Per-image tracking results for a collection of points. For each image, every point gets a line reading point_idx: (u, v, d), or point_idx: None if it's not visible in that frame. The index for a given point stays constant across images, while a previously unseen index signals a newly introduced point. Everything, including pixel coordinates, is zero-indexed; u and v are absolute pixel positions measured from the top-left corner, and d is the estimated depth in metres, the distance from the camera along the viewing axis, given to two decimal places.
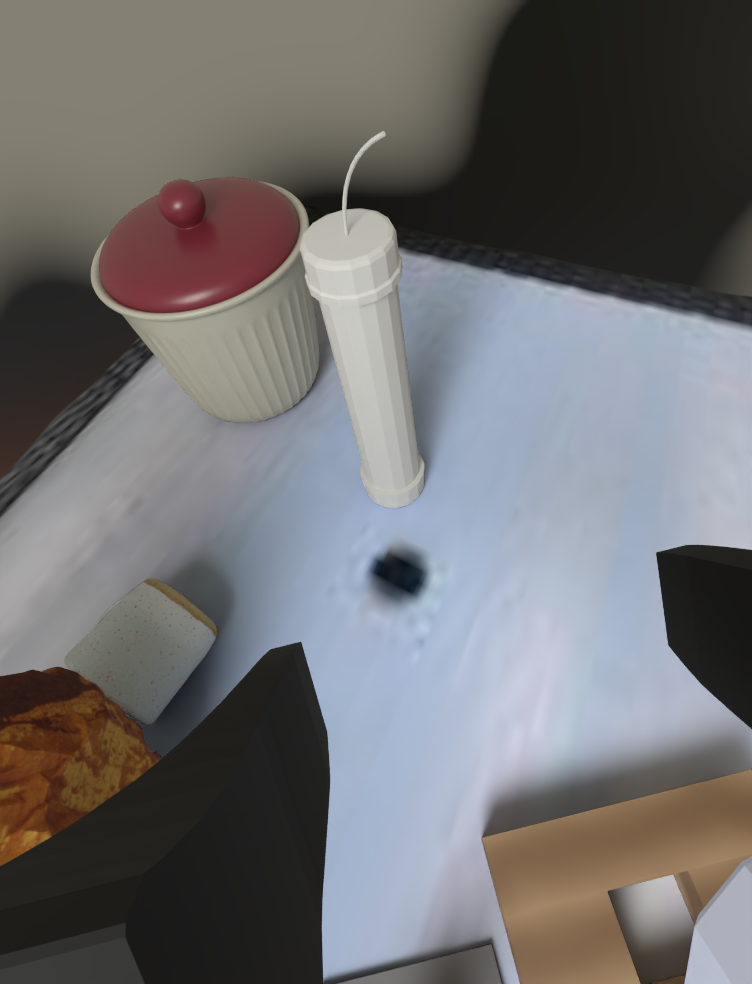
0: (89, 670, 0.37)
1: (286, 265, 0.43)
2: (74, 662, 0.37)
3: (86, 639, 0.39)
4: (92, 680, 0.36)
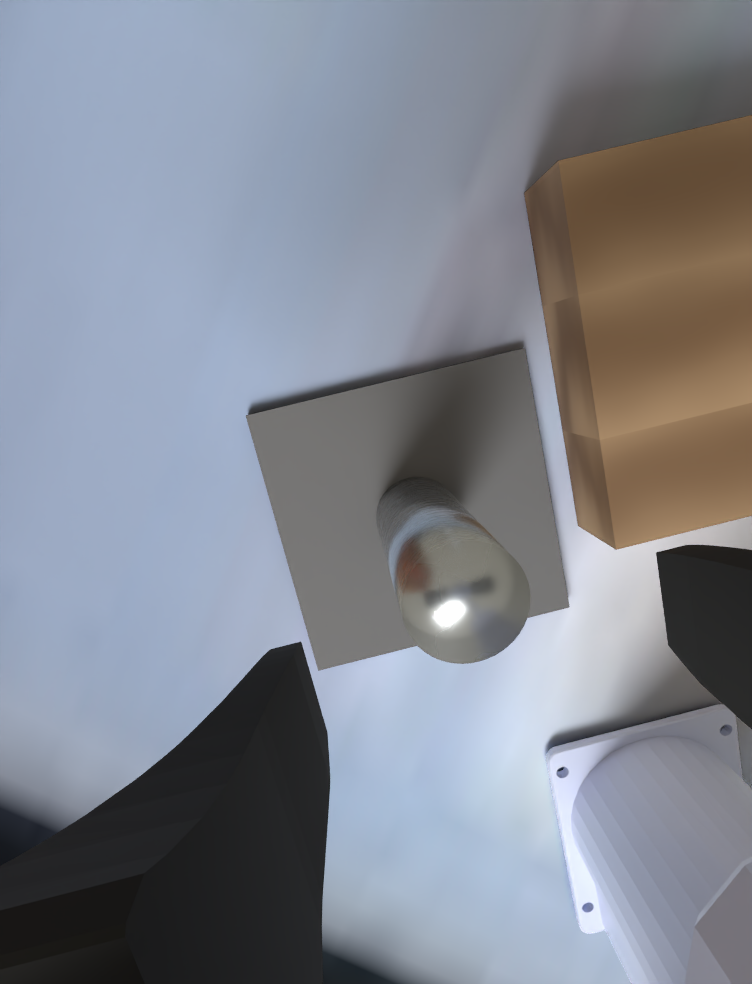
0: None
1: None
2: None
3: None
4: None
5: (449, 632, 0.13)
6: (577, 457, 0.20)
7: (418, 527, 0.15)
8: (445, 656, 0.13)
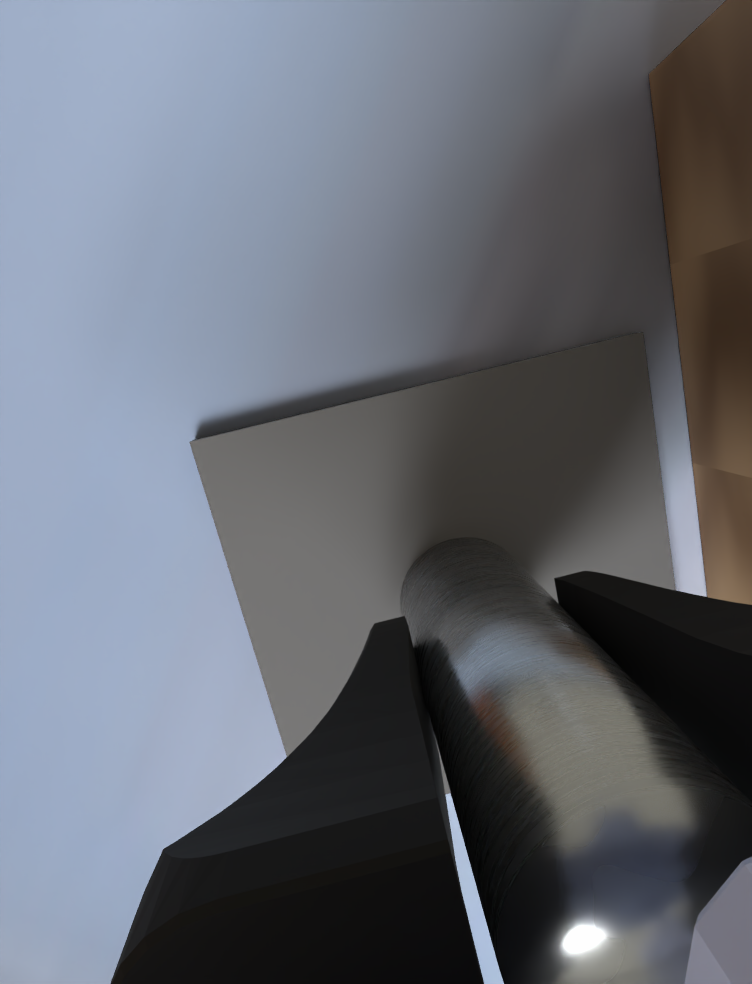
0: None
1: None
2: None
3: None
4: None
5: None
6: (724, 507, 0.13)
7: (508, 692, 0.07)
8: None
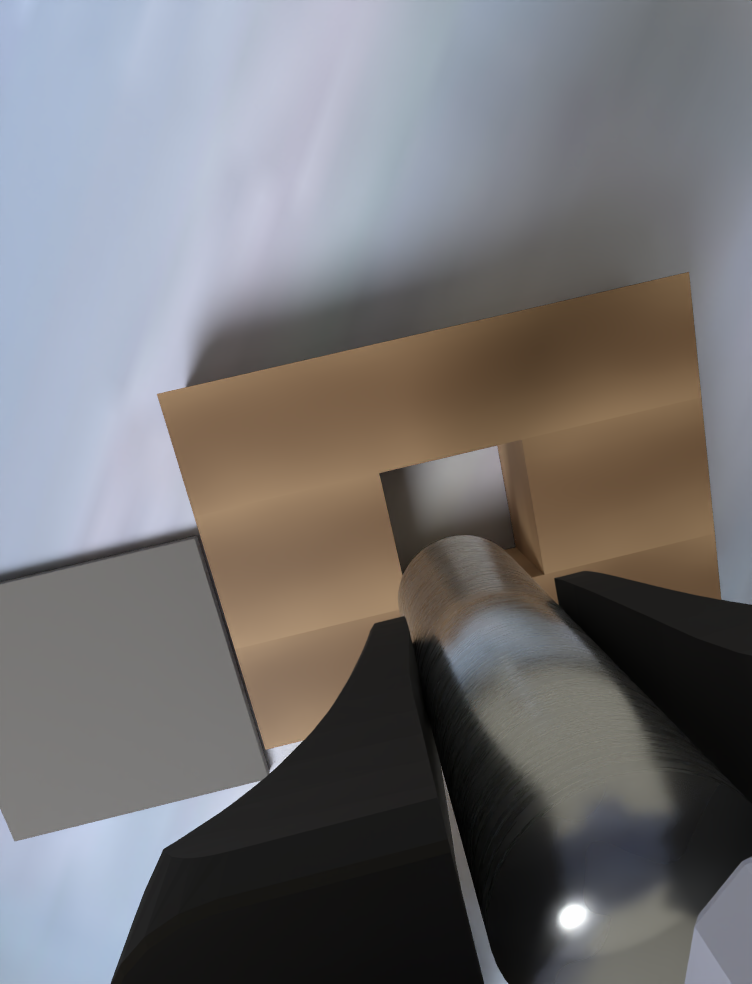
0: None
1: None
2: None
3: None
4: None
5: (589, 965, 0.06)
6: None
7: (510, 676, 0.07)
8: None
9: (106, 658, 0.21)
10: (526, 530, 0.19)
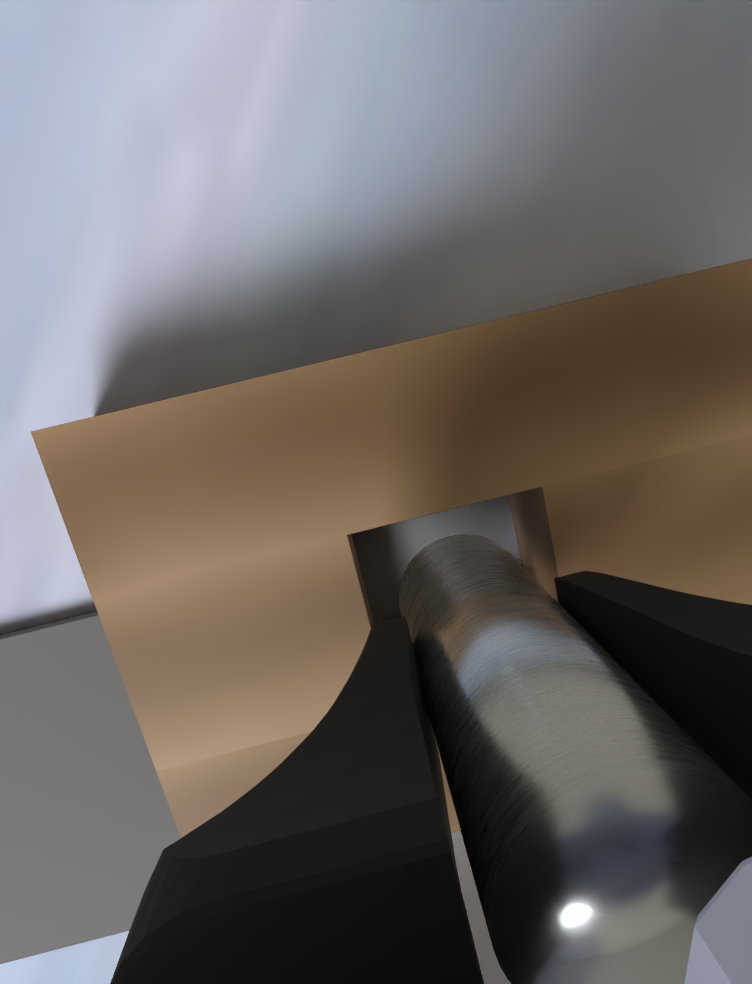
0: None
1: None
2: None
3: None
4: None
5: (592, 964, 0.06)
6: None
7: (512, 676, 0.07)
8: None
9: (2, 765, 0.16)
10: None
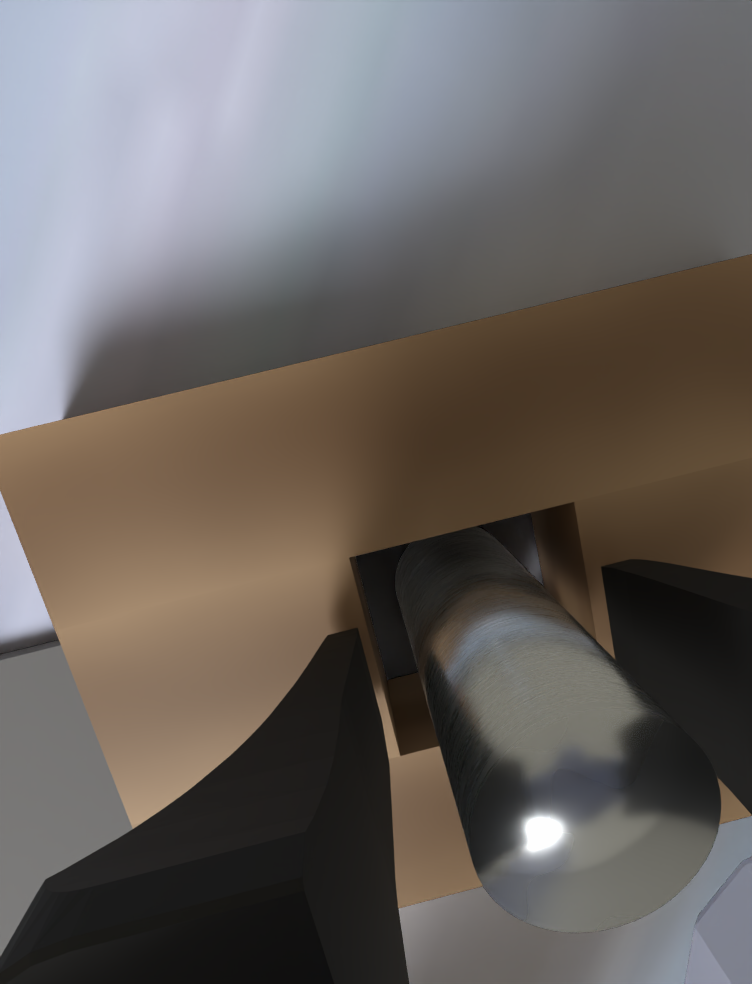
0: None
1: None
2: None
3: None
4: None
5: (556, 876, 0.07)
6: None
7: (492, 640, 0.08)
8: (541, 918, 0.07)
9: None
10: None
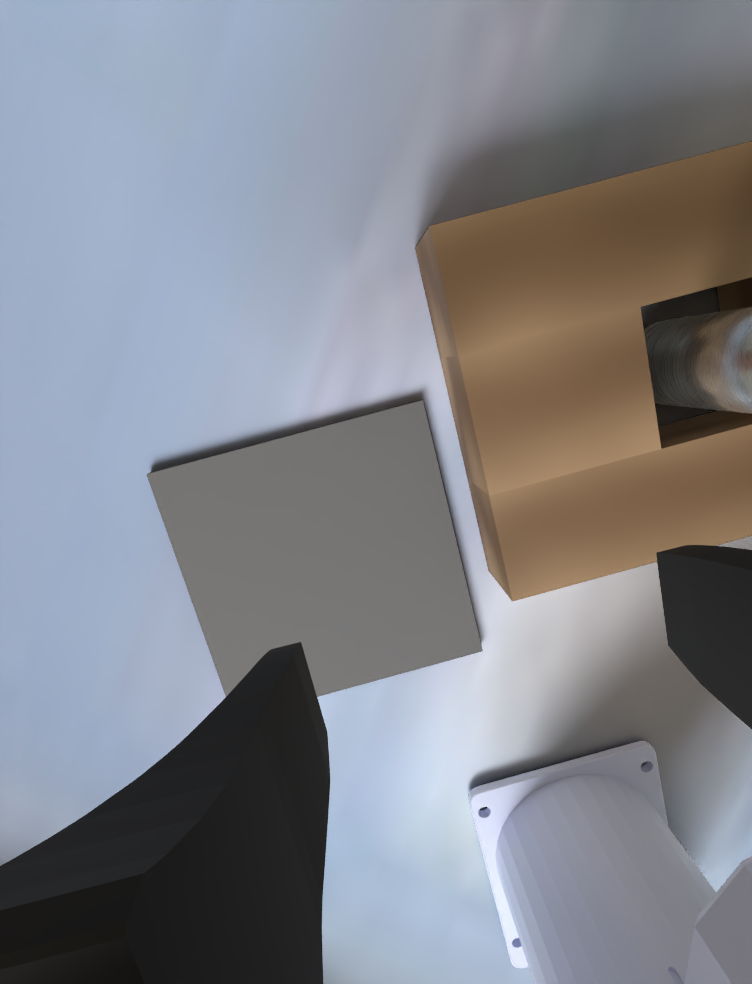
0: None
1: None
2: None
3: None
4: None
5: None
6: (479, 506, 0.20)
7: None
8: None
9: (331, 527, 0.21)
10: None
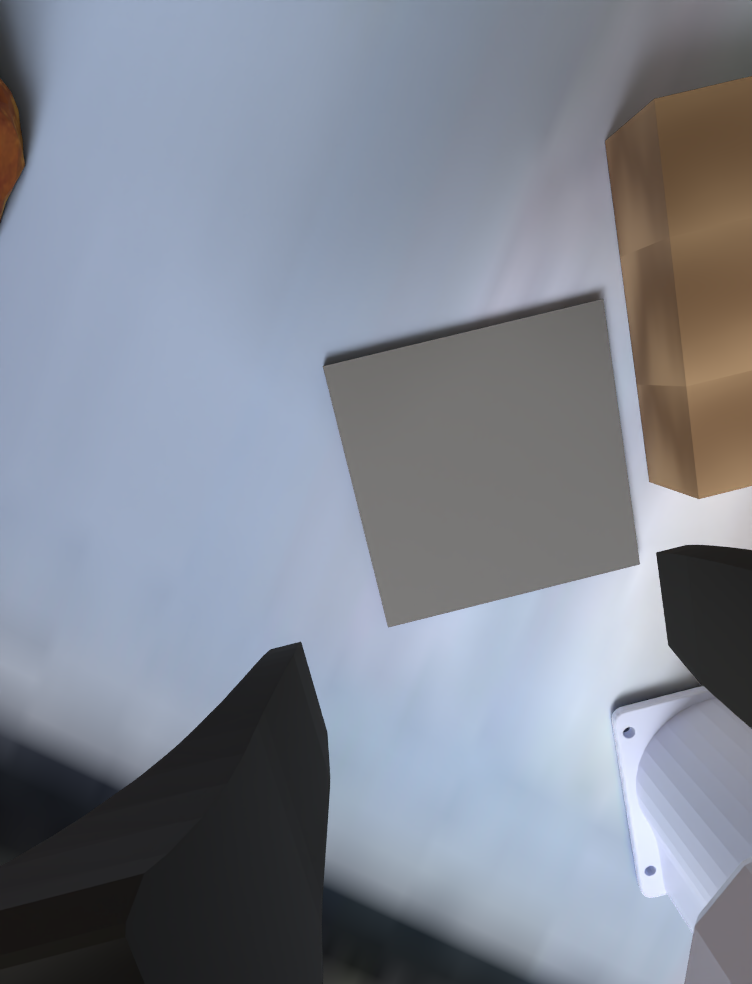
0: None
1: None
2: None
3: None
4: None
5: None
6: (654, 409, 0.20)
7: None
8: None
9: (501, 428, 0.20)
10: None
